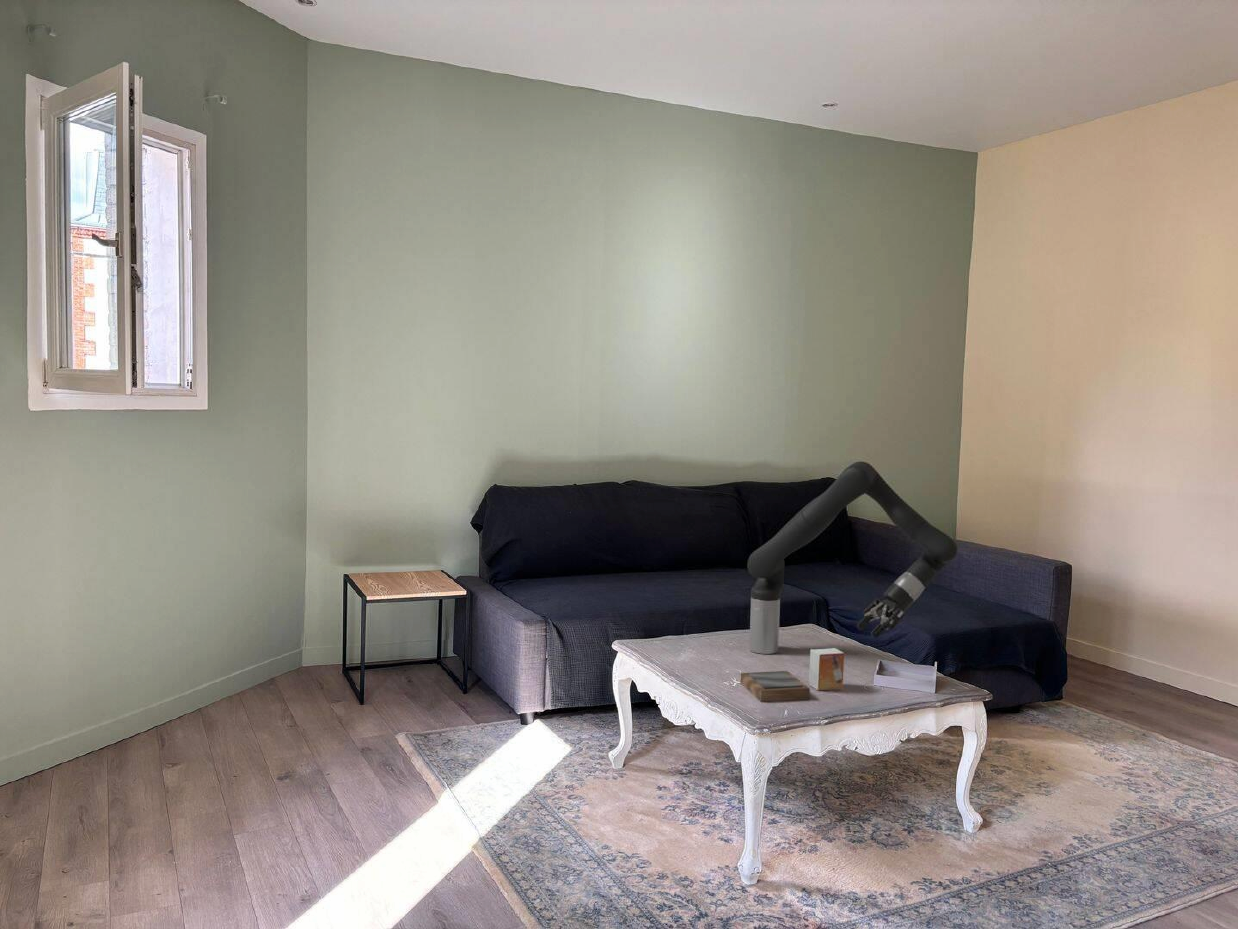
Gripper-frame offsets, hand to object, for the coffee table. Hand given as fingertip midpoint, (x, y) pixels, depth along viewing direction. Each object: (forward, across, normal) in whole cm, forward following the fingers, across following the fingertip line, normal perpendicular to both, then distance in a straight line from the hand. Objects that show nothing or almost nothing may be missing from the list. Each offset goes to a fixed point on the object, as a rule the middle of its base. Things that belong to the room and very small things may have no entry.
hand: (866, 632), depth 269 cm
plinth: (+30, +1, -9) cm, 32 cm away
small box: (+19, 0, +3) cm, 20 cm away
